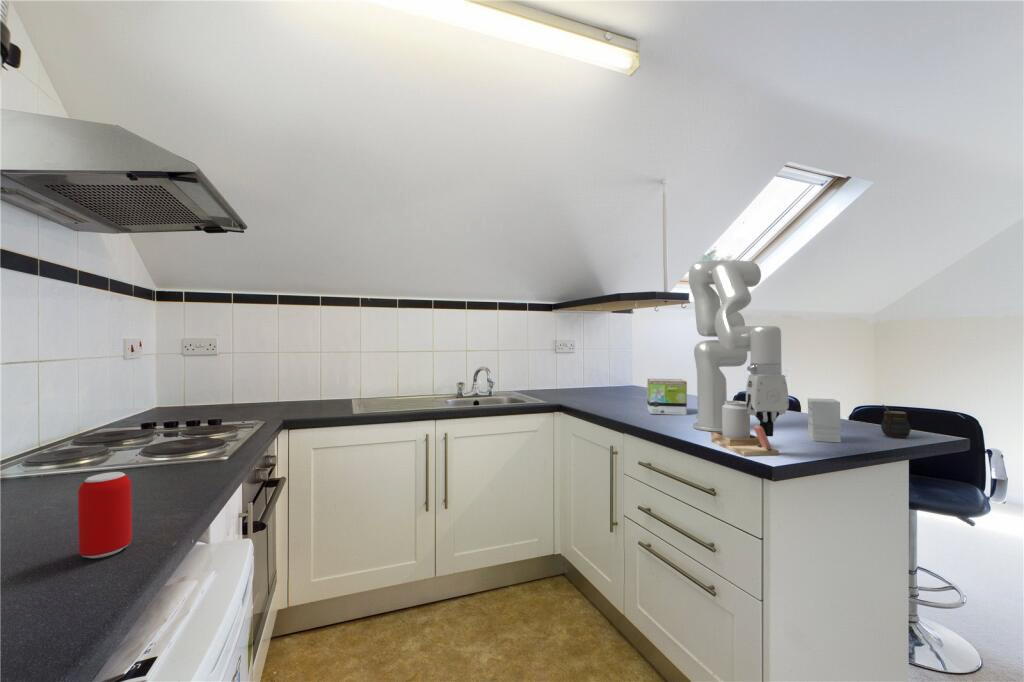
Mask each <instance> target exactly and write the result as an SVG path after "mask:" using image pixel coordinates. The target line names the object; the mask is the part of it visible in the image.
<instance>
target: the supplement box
mask: <svg viewBox="0 0 1024 682" xmlns="http://www.w3.org/2000/svg"><path fill="white" fill-rule="evenodd" d="M807 424H808V425H807V430H808V431H807V434H808V435H807V436H808V437H809V439H811V440H812V442H825V443H826V442H827V443H840V444H841V442H842V437H841V431H842V430H841V402H840V401H839V400H837V399H834V398H814V397H813V398H811V397H807Z"/></svg>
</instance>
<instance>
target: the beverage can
mask: <svg viewBox="0 0 1024 682" xmlns="http://www.w3.org/2000/svg"><path fill="white" fill-rule="evenodd" d="M77 491H78V492H77V496H78V497H77V499H78V500H77V501H78V502H77V507H78V508H77V510H78V514H77V515H78V517H77V518H78V519H77V520H78V553H79V555H80V556H81V557H83V558H88V559H101V558H105V557H109V556H112V555H115V554H117V553H119V552H121V551H122V550H123V549H125V548H126V547H128V546H129V545H130V544H131V542H132V540H133V528H132V527H133V526H132V525H133V521H132V520H133V519H132V518H133V516H132V514H133V513H132V510H133V509H132V507H133V506H132V480H131V479H130V477H129V476H128V475H127V473H125V472H122V471H111V472H103V473H99V474H95V475H90V476H88V477H87V478H86V479H84V480H83V482H82V484H80V487H79V488H78V490H77Z"/></svg>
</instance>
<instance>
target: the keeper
mask: <svg viewBox="0 0 1024 682" xmlns="http://www.w3.org/2000/svg"><path fill="white" fill-rule="evenodd" d="M753 429H754V431H755V432H754V433H755V434H756V436H757V437H758V439H759V441H760V443H761V446H763V447H765V448H767V447H771V448H772V445H771V444H770V441H769V439H768V437H767V436H766V434H765V432H764V429H763V427H761V426H760V425H758V424H757V425H755V426H753Z"/></svg>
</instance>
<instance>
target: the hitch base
mask: <svg viewBox="0 0 1024 682" xmlns="http://www.w3.org/2000/svg"><path fill="white" fill-rule="evenodd" d="M710 432H711V434H710V435H711V438H710V441H711V443H713V444H715V445H718V446H720V447H722V448H724V449H727V450H729V451H731V452H734V453H736V454H739V455H740V456H743V457H751V456H752V457H759V456H761V457H762V456H779V453H780V451H779V450H778V449H775V448H772V446H771V447H767V448H765V447H763V446H761V443H760V441H759V439H758V437H757V435H753V434H751V433H750V439H729V438H727V437H724V436H722V431H720V432H718V431H710Z"/></svg>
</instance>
